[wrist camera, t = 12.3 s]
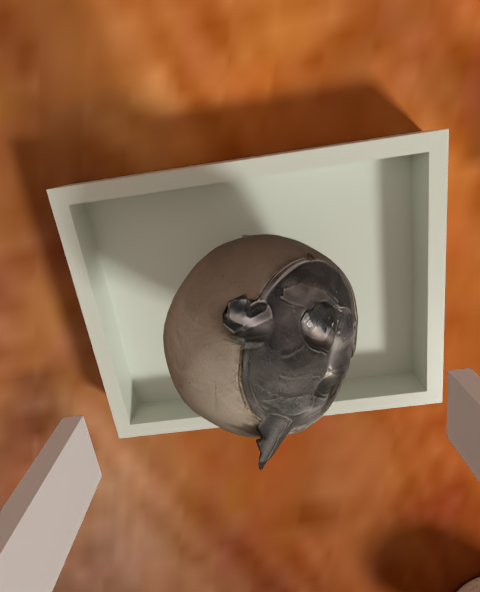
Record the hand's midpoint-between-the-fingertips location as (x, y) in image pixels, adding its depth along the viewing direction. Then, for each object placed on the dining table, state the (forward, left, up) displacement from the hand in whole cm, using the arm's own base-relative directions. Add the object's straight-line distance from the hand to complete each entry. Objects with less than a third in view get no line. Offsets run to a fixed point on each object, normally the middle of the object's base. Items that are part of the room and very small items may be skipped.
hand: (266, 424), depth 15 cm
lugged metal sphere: (0, 0, -14) cm, 14 cm away
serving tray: (0, 0, -15) cm, 15 cm away
